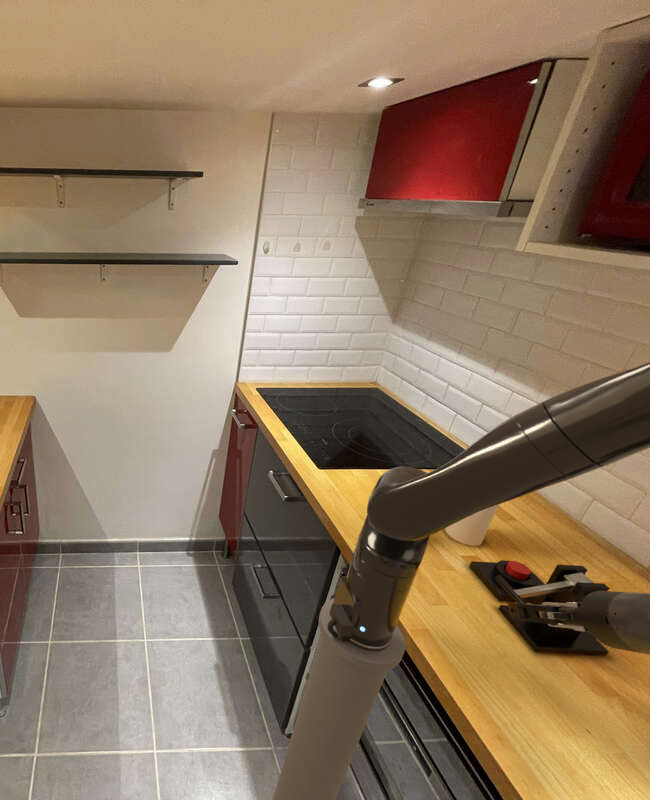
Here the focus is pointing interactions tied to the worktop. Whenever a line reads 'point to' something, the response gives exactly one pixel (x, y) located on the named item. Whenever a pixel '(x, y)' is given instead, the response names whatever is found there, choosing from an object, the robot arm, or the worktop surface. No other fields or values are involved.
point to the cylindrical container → (472, 527)
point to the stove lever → (543, 587)
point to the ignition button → (518, 570)
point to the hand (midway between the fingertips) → (538, 611)
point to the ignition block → (492, 569)
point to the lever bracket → (558, 637)
